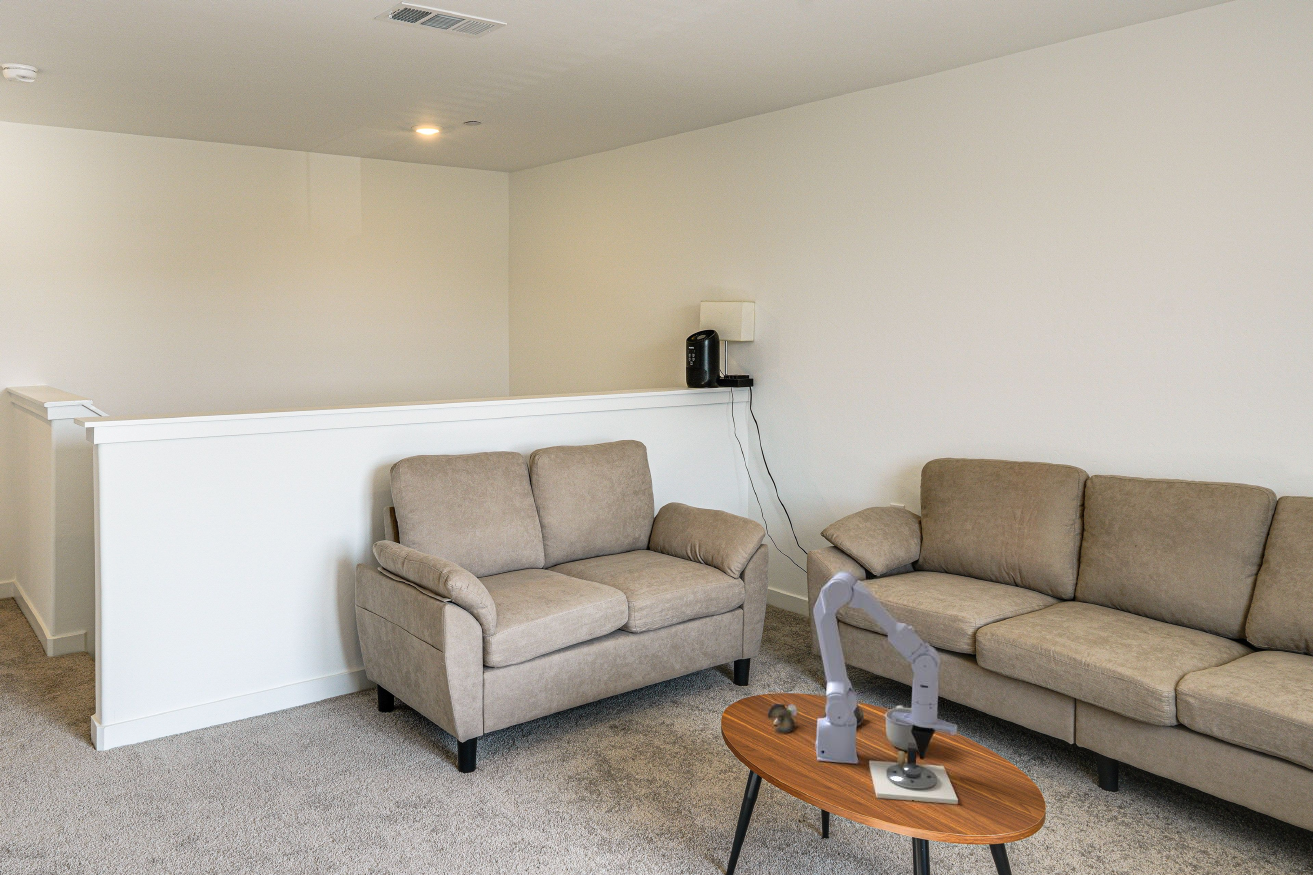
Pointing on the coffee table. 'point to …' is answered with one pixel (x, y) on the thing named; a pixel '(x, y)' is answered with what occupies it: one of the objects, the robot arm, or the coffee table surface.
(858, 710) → the fossil
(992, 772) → the coffee table surface
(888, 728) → the teacup
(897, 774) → the flange plate
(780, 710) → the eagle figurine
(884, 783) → the base plate
